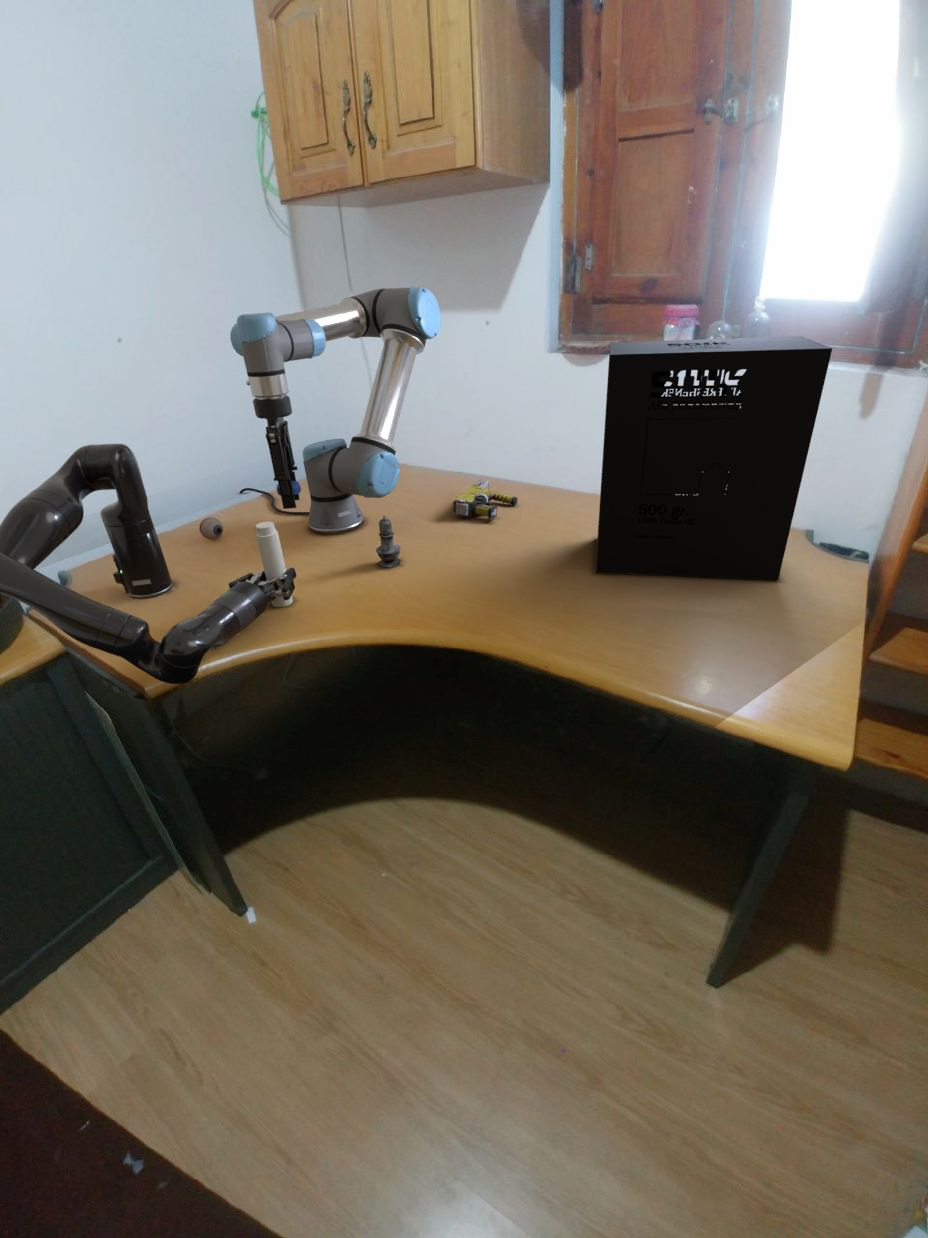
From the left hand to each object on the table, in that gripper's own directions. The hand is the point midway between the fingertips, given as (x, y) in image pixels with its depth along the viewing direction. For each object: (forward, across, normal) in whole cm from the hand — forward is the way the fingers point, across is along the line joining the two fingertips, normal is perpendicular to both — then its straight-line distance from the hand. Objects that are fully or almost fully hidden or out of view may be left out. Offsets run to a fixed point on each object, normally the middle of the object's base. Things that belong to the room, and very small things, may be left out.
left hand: (283, 570), depth 129 cm
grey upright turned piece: (+20, +16, -6) cm, 26 cm away
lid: (+14, -4, +14) cm, 20 cm away
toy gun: (+62, +30, -6) cm, 69 cm away
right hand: (+14, -4, +10) cm, 18 cm away
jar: (-3, 0, -6) cm, 7 cm away
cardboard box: (+34, +82, -6) cm, 90 cm away
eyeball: (+27, -39, -6) cm, 47 cm away
